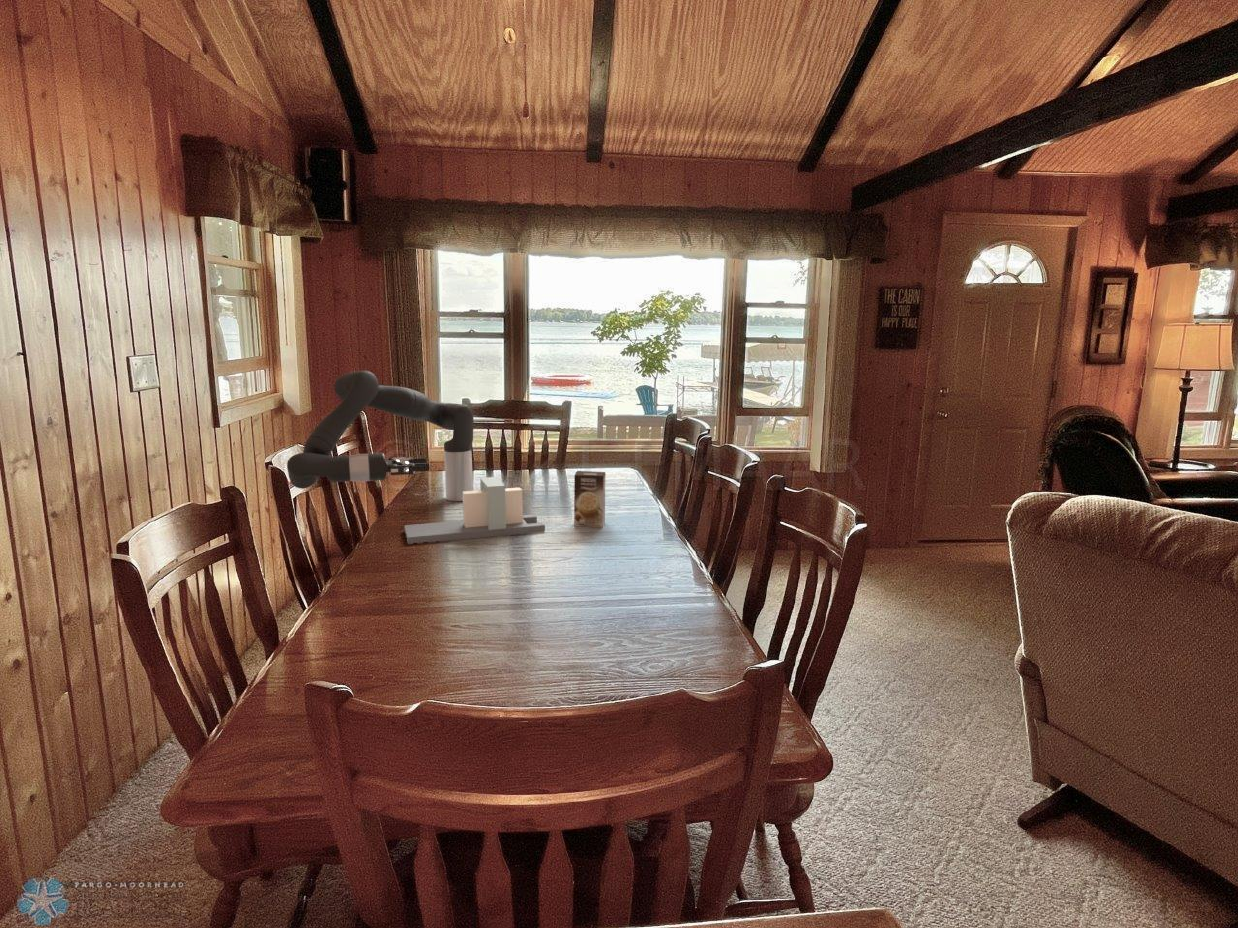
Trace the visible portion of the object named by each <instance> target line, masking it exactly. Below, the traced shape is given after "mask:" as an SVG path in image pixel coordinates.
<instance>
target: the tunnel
mask: <svg viewBox="0 0 1238 928" xmlns="http://www.w3.org/2000/svg"><path fill="white" fill-rule="evenodd" d="M479 482H480V483H479V485H480V490H487V503H488V529H489V530H494V529H505V528H506V503H505V488H506V485H505V484H504V483H503V482H502V481H501V480H500V479H499V477H497V476H492V477H480V478H479Z"/></svg>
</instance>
